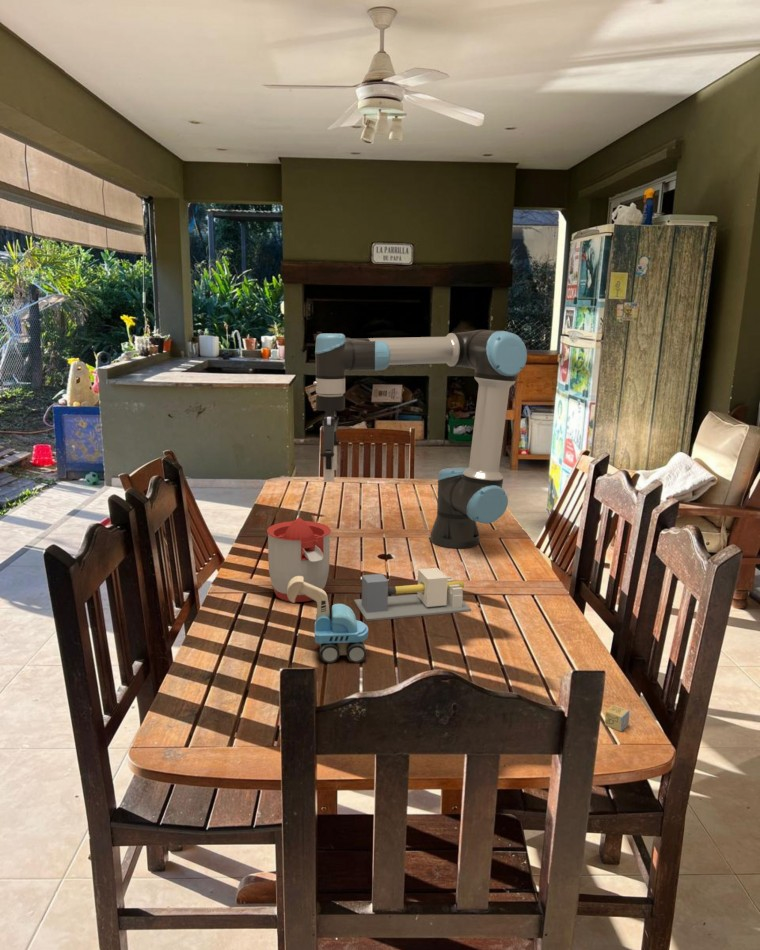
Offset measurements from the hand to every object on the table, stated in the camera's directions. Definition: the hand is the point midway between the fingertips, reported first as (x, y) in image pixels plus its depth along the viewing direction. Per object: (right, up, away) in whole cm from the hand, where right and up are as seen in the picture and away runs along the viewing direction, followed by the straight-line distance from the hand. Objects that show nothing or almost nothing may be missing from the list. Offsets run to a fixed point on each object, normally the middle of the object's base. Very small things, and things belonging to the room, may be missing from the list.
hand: (330, 475), depth 199 cm
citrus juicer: (-7, -30, -10) cm, 33 cm away
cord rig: (+21, -32, -16) cm, 41 cm away
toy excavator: (+2, -38, -41) cm, 56 cm away
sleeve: (+26, -31, -14) cm, 42 cm away
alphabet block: (+55, -44, -66) cm, 96 cm away
